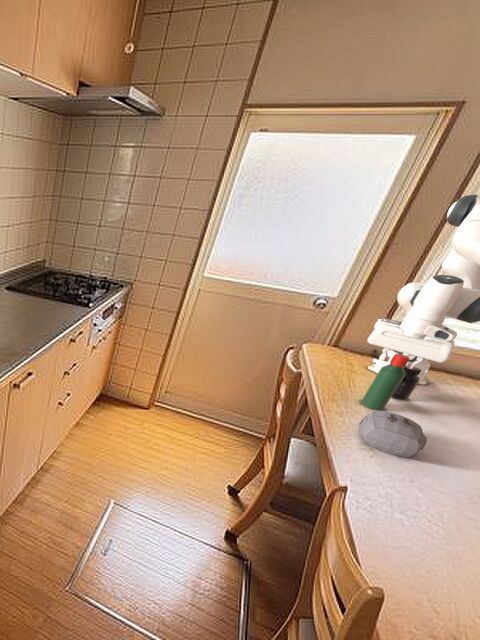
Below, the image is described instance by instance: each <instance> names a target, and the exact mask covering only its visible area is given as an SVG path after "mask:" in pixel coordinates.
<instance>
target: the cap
mask: <svg viewBox="0 0 480 640" xmlns="http://www.w3.org/2000/svg"><path fill="white" fill-rule="evenodd" d="M409 359H410V358H409V357H407V356H405V355H401V354H395V355H394V356H393V358H392V360H391V361H390V364H392V365H394V366H398V367H405V366H406V364H407V362H408V361H409Z"/></svg>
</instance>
